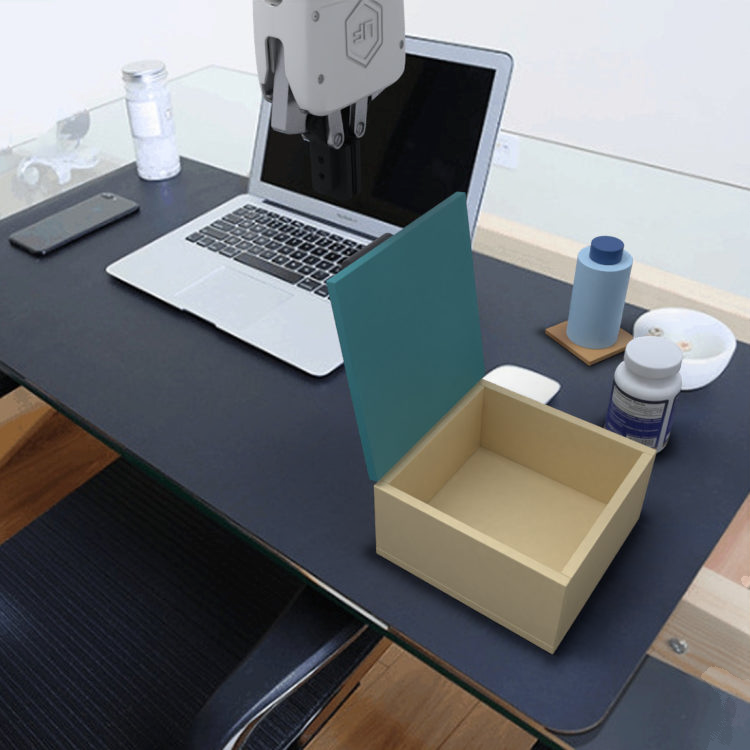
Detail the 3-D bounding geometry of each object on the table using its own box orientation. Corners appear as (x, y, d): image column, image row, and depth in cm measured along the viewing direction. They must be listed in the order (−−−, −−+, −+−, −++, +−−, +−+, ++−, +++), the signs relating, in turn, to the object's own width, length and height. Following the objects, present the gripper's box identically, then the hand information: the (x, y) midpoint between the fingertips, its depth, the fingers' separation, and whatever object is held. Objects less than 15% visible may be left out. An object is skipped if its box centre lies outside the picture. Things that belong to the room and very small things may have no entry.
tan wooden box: (638, 518, 66) (657, 450, 61) (552, 655, 56) (566, 586, 51) (476, 444, 73) (481, 378, 69) (375, 553, 64) (373, 485, 59)
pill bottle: (631, 409, 77) (651, 324, 71) (680, 441, 73) (705, 355, 67) (589, 432, 74) (605, 346, 68) (637, 468, 71) (659, 380, 64)
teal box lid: (465, 192, 60) (417, 187, 62) (334, 282, 50) (284, 273, 52) (485, 374, 68) (443, 364, 71) (377, 482, 58) (332, 466, 61)
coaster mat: (638, 344, 85) (639, 340, 85) (589, 366, 82) (590, 361, 82) (592, 314, 90) (593, 309, 89) (544, 333, 87) (545, 328, 87)
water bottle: (628, 339, 85) (647, 246, 78) (590, 355, 83) (606, 262, 76) (593, 315, 88) (608, 225, 82) (555, 330, 86) (568, 239, 80)
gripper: (283, -80, 39) (309, 250, 50) (448, -117, 48) (438, 169, 60) (178, -92, 42) (224, 219, 54) (351, -125, 52) (359, 146, 63)
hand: (337, 192), depth 57 cm, fingers closed
